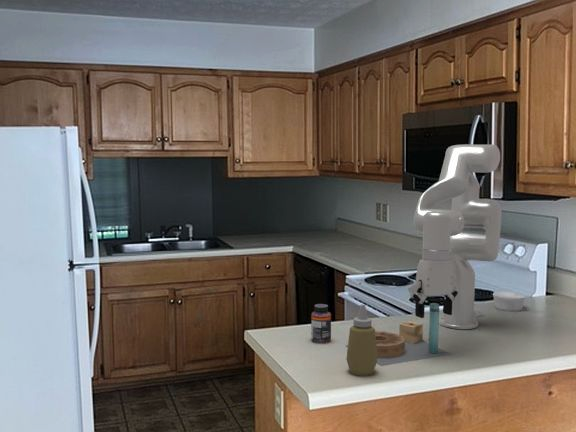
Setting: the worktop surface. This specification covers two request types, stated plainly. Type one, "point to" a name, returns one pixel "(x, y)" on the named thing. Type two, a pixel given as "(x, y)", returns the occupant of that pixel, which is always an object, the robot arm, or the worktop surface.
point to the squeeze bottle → (362, 345)
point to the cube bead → (411, 332)
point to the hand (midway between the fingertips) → (433, 315)
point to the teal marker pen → (433, 328)
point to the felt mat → (412, 354)
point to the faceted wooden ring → (389, 344)
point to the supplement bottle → (321, 324)
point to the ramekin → (508, 300)
